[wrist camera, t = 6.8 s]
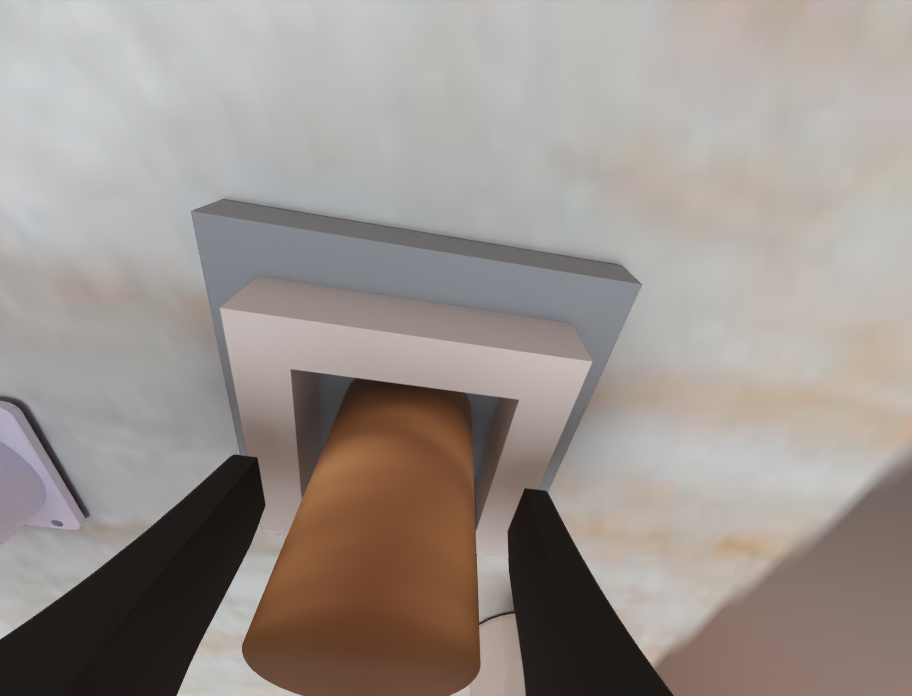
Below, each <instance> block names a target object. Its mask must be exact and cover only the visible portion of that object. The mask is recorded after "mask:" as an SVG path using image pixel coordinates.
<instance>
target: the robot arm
mask: <svg viewBox="0 0 912 696" xmlns="http://www.w3.org/2000/svg"><path fill="white" fill-rule="evenodd" d="M265 506H266V504H265V498H264V492H263V487H262V481H261V475H260V469H259V463H258V457H251V456H242V455H232V456H231V457H229V458H228V459H227V460H226V461H225V462H224V463H223V464H222V465H221V466H219V467H218V468H217V469H216V470H215V471H214V472H213V473H212V474H211V475H210V476H209V477H207V478H206V479H205V480H204V481H203V482H202V483H201V484H200V485H199V486H197V487H196V488H195V489H194V490H193V491H192V492H191V493H190V494H188V495H187V496H186V497H185V498H184V499H183V500H182V501H181V502H179V503H178V504H177V505H176V506H175V507H174V508H172V509H171V510H170V511H169V512H168V513H167V514H165V515H164V516H163V517H162V518H161V519H160V520H158V521H157V522H156V523H155V524H154V525H153V526H151V527H150V528H149V529H148V530H147V531H145V532H144V533H143V534H142V535H141V536H139V537H138V538H137V539H136V540H134V541H133V542H132V543H131V544H129V545H128V546H127V547H126V548H124V549H123V550H122V551H121V552H119V553H118V554H117V555H116V556H114V557H113V558H112V559H111V560H109V561H108V562H107V563H106V564H104V565H103V566H102V567H101V568H99V569H98V570H97V571H95V572H94V573H93V574H91V575H90V576H89V577H87V578H86V579H85V580H83V581H82V582H81V583H80V584H78V585H77V586H75V587H74V588H73V589H71V590H70V591H69V592H67V593H66V594H65V595H63V596H62V597H61V598H59V599H58V600H56V601H55V602H54V603H52V604H51V605H49V606H48V607H47V608H45V609H44V610H42V611H41V612H40V613H38V614H37V615H35V616H34V617H33V618H31V619H30V620H28V621H27V622H25V623H24V624H22V625H21V626H19V627H18V628H17V629H15V630H14V631H12V632H11V633H9V634H8V635H6V636H5V637H3V638H2V639H0V696H177V693H178V691H179V689H180V686H181V684H182V681H183V679H184V677H185V674H186V672H187V670H188V667H189V665H190V663H191V661H192V659H193V657H194V654H195V652H196V650H197V648H198V646H199V644H200V642H201V640H202V638H203V636H204V634H205V632H206V630H207V628H208V627H209V625H210V623H211V621H212V619H213V617H214V615H215V613H216V611H217V609H218V607H219V605H220V603H221V601H222V600H223V598H224V596H225V594H226V592H227V590H228V588H229V586H230V584H231V582H232V580H233V578H234V576H235V575H236V573H237V571H238V569H239V567H240V565H241V563H242V561H243V559H244V557H245V555H246V553H247V551H248V549H249V547H250V545H251V542H252V540H253V537H254V535H255V532H256V530H257V527H258V525H259V522H260V520H261V517H262V514H263V512H264V509H265ZM85 521H86V520H85V517H84V515H83V514H82V512H81V510H80V509H79V507H78V505H77V503H76V502H75V500H74V498H73V497H72V495H71V493H70V492H69V490H68V488H67V487H66V485H65V483H64V482H63V480H62V478H61V476H60V475H59V473H58V471H57V470H56V468H55V466H54V465H53V463H52V461H51V460H50V458H49V456H48V455H47V453H46V451H45V449H44V448H43V446H42V444H41V443H40V441H39V439H38V438H37V436H36V434H35V433H34V431H33V429H32V427H31V426H30V424H29V422H28V421H27V419H26V417H25V416H24V414H23V412H22V411H21V410H20V409H19V408H18V407H17V406H15V405H14V404H11V403H9V402H5V401H0V546H1V545H2V544H3V543H5V542H6V541H7V540H8V539H9V538H10V537H11V536H12V535H13V534H14V533H15V532H16V531H17V530H18V529H19V528H20V527H21V526H22V525H27V526H38V527H48V528H58V529H68V530H76V529H79V528H80V527H81V526H82V525H83V524H84V523H85ZM507 533H508V560H509V575H510V582H511V589H512V596H513V603H514V610H515V617H516V624H517V631H518V638H519V645H520V651H521V658H522V665H523V674H524V683H525V693H526V696H674V695H673V694H672V693H671V691H670V690H669V689H668V687H667V686H666V685H665V683H664V682H663V680H662V679H661V678H660V677H659V675H658V674H657V672H656V671H655V670H654V668H653V667H652V666H651V664H650V663H649V661H648V660H647V658H646V657H645V656H644V654H643V653H642V651H641V650H640V649H639V647H638V646H637V644H636V643H635V641H634V640H633V638H632V637H631V636H630V634H629V633H628V631H627V630H626V628H625V627H624V625H623V624H622V622H621V620H620V619H619V617H618V616H617V614H616V613H615V611H614V610H613V608H612V606H611V605H610V603H609V602H608V600H607V599H606V597H605V595H604V594H603V592H602V590H601V589H600V587H599V585H598V584H597V582H596V580H595V579H594V577H593V575H592V574H591V572H590V570H589V568H588V567H587V565H586V563H585V561H584V560H583V558H582V556H581V555H580V553H579V551H578V549H577V547H576V546H575V544H574V542H573V540H572V538H571V536H570V534H569V533H568V531H567V529H566V527H565V525H564V523H563V521H562V519H561V517H560V515H559V514H558V512H557V510H556V508H555V506H554V504H553V502H552V500H551V498H550V496H549V494H548V492H547V491H545V490H536V489H528V488H525V489H524V491H523V494H522V496H521V499H520V501H519V504H518V506H517V509H516V511H515V514H514V516H513V519H512V521H511V524H510V526H509V529H508V531H507Z"/></svg>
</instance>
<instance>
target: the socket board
mask: <svg viewBox="0 0 912 696" xmlns="http://www.w3.org/2000/svg"><path fill="white" fill-rule="evenodd" d="M191 214H192V219H193V224H194V229H195V234H196V239H197V244H198V249H199V254H200V258H201V263H202V268H203V273H204V278H205V283H206V288H207V293H208V298H209V303H210V308H211V313H212V318H213V323H214V328H215V333H216V338H217V342H218V347H219V352H220V357H221V362H222V367H223V372H224V377H225V382H226V387H227V392H228V397H229V402H230V407H231V412H232V417H233V422H234V426H235V431H236V436H237V441H238V446H239V451H240V455H242V456H251V457H258V463H259V469H260V475H261V481H262V487H263V492H264V498H265V504H266V506H265V509H264V512H263V514H262V517H261V520H260V525H261V530H262V533H269V534H279V535H288V532H289V530H290V527H291V525H292V523H293V520H294V518H295V515H296V513H297V510H298V508H299V506H300V503H301V501H302V498H303V496H304V493H305V491H306V489H307V486H308V484H309V481H310V479H311V476H312V474H313V472H314V469H315V467H316V464H317V462H318V459H319V457H320V455H321V452H322V450H323V447H324V445H325V442H326V440H327V438H328V435H329V433H330V430H331V428H332V425H333V423H334V420H335V418H336V416H337V413H338V411H339V408H340V406H341V403H342V401H343V399H344V396H345V394H346V391H347V389H348V387H349V386H350V384H351V383H352V382H353V381H354V379H355V378H361V379H368V380H376V381H383V382H391V383H398V384H406V385H413V386H420V387H428V388H435V389H443V390H450V391H458V392H465V393H466V395H467V397H468V400H469V403H470V406H471V421H472V448H473V474H474V501H475V527H476V554H478V555H488V556H498V557H508V533H507V531H508V529H509V526H510V524H511V521H512V519H513V516H514V514H515V511H516V509H517V506H518V504H519V501H520V499H521V496H522V494H523V491H524V489H525V488H528V489H536V490H545V491H547V492H548V490H549V488H550V486H551V484H552V482H553V479H554V477H555V475H556V473H557V471H558V468H559V466H560V464H561V462H562V460H563V457H564V455H565V453H566V451H567V449H568V446H569V444H570V442H571V440H572V437H573V435H574V433H575V431H576V429H577V426H578V424H579V422H580V420H581V418H582V415H583V413H584V411H585V409H586V407H587V404H588V402H589V400H590V398H591V396H592V393H593V391H594V389H595V387H596V385H597V382H598V380H599V378H600V376H601V374H602V371H603V369H604V367H605V365H606V363H607V360H608V358H609V356H610V354H611V352H612V349H613V347H614V345H615V343H616V341H617V338H618V336H619V334H620V332H621V330H622V327H623V325H624V323H625V321H626V319H627V316H628V314H629V312H630V310H631V308H632V305H633V303H634V301H635V299H636V297H637V294H638V292H639V290H640V288H641V286H642V284H641V283H640V282H639V281H638V280H637V279H636V278H635V277H634V276H633V275H632V274H631V273H629V272H628V271H627V270H626V269H625V268H624V267H623V266H621V265H615V264H609V263H603V262H597V261H591V260H585V259H579V258H573V257H567V256H561V255H555V254H549V253H543V252H537V251H531V250H525V249H519V248H513V247H507V246H501V245H495V244H489V243H483V242H477V241H471V240H465V239H458V238H452V237H446V236H440V235H434V234H428V233H422V232H416V231H410V230H404V229H398V228H392V227H386V226H380V225H374V224H368V223H362V222H356V221H350V220H344V219H338V218H332V217H326V216H320V215H314V214H308V213H302V212H296V211H290V210H284V209H278V208H272V207H266V206H260V205H254V204H248V203H242V202H235V201H229V200H223V199H222V200H219V201H217V202H214V203H211V204H209V205H206V206H203V207H201V208H198V209H195V210H193V211H191Z"/></svg>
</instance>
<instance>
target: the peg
mask: <svg viewBox="0 0 912 696" xmlns="http://www.w3.org/2000/svg"><path fill="white" fill-rule="evenodd" d="M242 653H243V656H244V659H245V661H246V662H247V664H248V665H249V666H250V667H251V668H252V670H253V671H255V672H256V673H257V674H258V675H259V676H261V677H262V678H264V679H265V680H267V681H269V682H271V683H273V684H274V685H276V686H278V687H281V688H283V689H286V690H288V691H291V692H294V693H296V694H299V695H303V696H449V695H451V694H454V693H456V692H458V691H460V690H462V689H463V688H465V687H466V686H468V685H469V684H470V683H472V681H473V680H474V679H475V678H476V677H477V675H478V673H479V671H480V666H481V660H480V633H479V607H478V580H477V554H476V527H475V501H474V474H473V448H472V421H471V406H470V403H469V400H468V397H467V395H466V393H465V392H458V391H450V390H443V389H435V388H428V387H420V386H413V385H406V384H398V383H391V382H383V381H376V380H368V379H361V378H355V379H354V381H353V382H352V383H351V384H350V386H349V387H348V389H347V391H346V394H345V396H344V399H343V401H342V403H341V406H340V408H339V411H338V413H337V416H336V418H335V420H334V423H333V425H332V428H331V430H330V433H329V435H328V438H327V440H326V442H325V445H324V447H323V450H322V452H321V455H320V457H319V459H318V462H317V464H316V467H315V469H314V472H313V474H312V476H311V479H310V481H309V484H308V486H307V489H306V491H305V493H304V496H303V498H302V501H301V503H300V506H299V508H298V510H297V513H296V515H295V518H294V520H293V523H292V525H291V527H290V530H289V532H288V535H287V537H286V540H285V542H284V545H283V547H282V549H281V552H280V554H279V557H278V559H277V562H276V564H275V566H274V569H273V571H272V574H271V576H270V579H269V581H268V583H267V586H266V588H265V591H264V593H263V596H262V598H261V600H260V603H259V605H258V608H257V610H256V613H255V615H254V617H253V620H252V622H251V625H250V627H249V630H248V632H247V634H246V637H245V639H244V642H243V644H242Z"/></svg>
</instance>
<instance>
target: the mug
mask: <svg viewBox="0 0 912 696" xmlns="http://www.w3.org/2000/svg"><path fill="white" fill-rule="evenodd" d="M479 633H480V660H481V666H480V671H479V673H478V675H477V677H476V678H475V679H474V680H473V681H472V683H470V696H526V693H525V683H524V674H523V665H522V658H521V651H520V645H519V638H518V631H517V624H516V617H515V613H513V614H508V615H502V616H499V617H496V618H493V619H490V620H488V621H486V622H484V623H483V624H481V625H479Z"/></svg>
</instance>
